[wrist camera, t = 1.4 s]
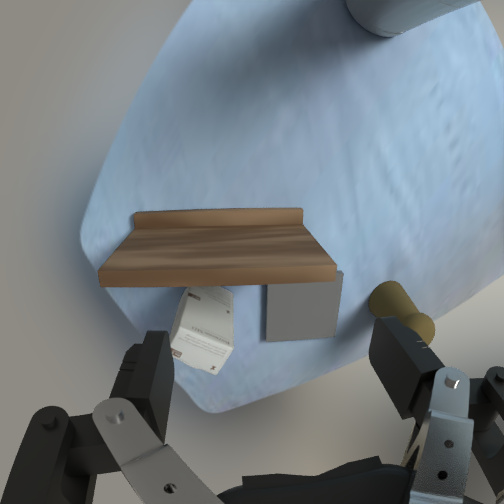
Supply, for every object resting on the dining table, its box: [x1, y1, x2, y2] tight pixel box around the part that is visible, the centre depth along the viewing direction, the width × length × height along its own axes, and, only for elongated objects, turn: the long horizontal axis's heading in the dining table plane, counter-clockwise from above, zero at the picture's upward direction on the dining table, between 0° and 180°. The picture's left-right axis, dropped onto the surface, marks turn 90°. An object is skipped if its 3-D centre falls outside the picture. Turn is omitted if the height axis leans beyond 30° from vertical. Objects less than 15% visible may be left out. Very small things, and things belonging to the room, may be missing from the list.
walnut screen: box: [98, 208, 337, 287], centre depth 32 cm, size 5×20×14 cm, turn 90°
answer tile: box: [265, 271, 344, 342], centre depth 43 cm, size 10×10×1 cm
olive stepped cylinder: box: [369, 281, 435, 345], centre depth 39 cm, size 6×6×11 cm
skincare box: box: [169, 286, 234, 375], centre depth 36 cm, size 6×4×12 cm
